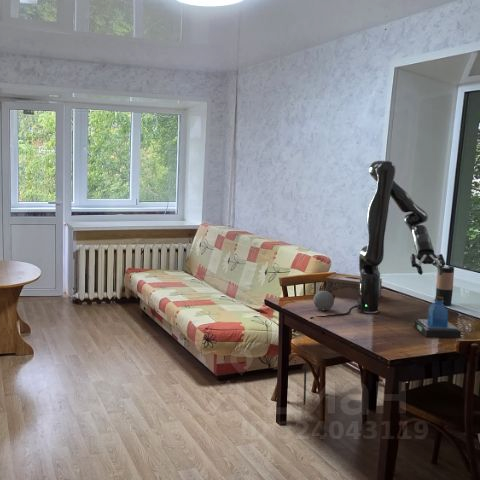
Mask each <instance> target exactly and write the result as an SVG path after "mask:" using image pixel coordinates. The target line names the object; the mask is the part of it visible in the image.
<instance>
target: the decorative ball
mask: <svg viewBox="0 0 480 480" xmlns="http://www.w3.org/2000/svg"><path fill="white" fill-rule="evenodd" d="M312 300H313V305H314V306H315V307H316V309H318V310H320V311H322V310H321V309H324V310H323V311H328V310H330V309H331V308H332V307H333V306H334V305H335V304H334V303H335V299H334V296H332V294H331V293H329V292H327V291H326V290H320V291H318V292H316V293H315V294H314V295H313V299H312ZM327 309H328V310H327Z"/></svg>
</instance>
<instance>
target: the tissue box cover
mask: <svg viewBox="0 0 480 480" xmlns="http://www.w3.org/2000/svg"><path fill="white" fill-rule="evenodd" d="M325 279H326V281H325V286H326V287H325V291H327V292H329V293H331V294H332V296H333V297H336V298H337V297H338V298H343V299H350V300H357V301H358V292H359V291H360V275H357V274H347V273H340V272H334V273H333V274H330V275H329V276H326V278H325ZM382 283H383V278H380V289H379V298H381V297H382Z"/></svg>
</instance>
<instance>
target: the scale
mask: <svg viewBox="0 0 480 480" xmlns="http://www.w3.org/2000/svg"><path fill="white" fill-rule="evenodd" d="M414 328H415V329H416V330H417V331H419V333H421V334H422V335H423V336H424V337H426V338H451V339H452V338H455V339H457V338H458V339H460V338H461V335H462V331H461V330H460V329H459V328H458V329H457V330H431V329H427V328H426V327H425V326H424V325H422V324H421V323H420V322H419V321H418V319H415V320H414Z"/></svg>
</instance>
